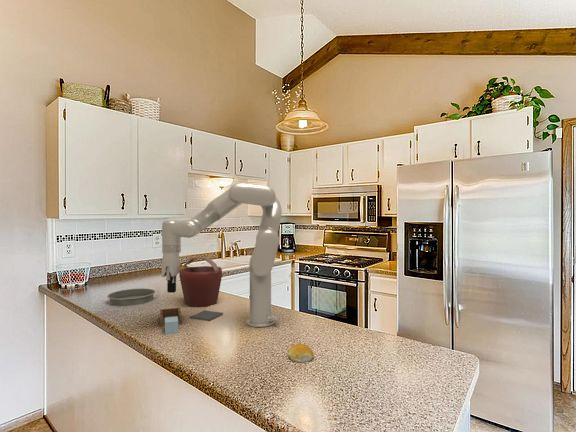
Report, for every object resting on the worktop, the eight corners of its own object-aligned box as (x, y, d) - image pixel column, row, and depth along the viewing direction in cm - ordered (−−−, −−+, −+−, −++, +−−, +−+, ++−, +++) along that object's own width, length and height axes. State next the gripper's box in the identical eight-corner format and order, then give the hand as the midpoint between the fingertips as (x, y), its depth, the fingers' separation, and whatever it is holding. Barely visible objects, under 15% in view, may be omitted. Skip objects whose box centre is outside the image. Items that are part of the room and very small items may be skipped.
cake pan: (108, 298, 191) (108, 290, 191) (154, 294, 201) (154, 286, 201) (105, 309, 169) (105, 300, 169) (156, 303, 179) (156, 295, 179)
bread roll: (308, 350, 116) (308, 339, 116) (316, 361, 107) (316, 349, 107) (285, 353, 114) (285, 341, 114) (291, 364, 105) (291, 352, 105)
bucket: (173, 302, 182) (173, 257, 182) (209, 295, 196) (209, 253, 196) (193, 311, 163) (193, 261, 163) (231, 303, 178) (231, 257, 178)
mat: (223, 314, 159) (223, 312, 159) (209, 321, 148) (209, 319, 148) (204, 311, 163) (204, 310, 163) (189, 318, 153) (189, 316, 153)
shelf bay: (182, 324, 144) (182, 316, 144) (160, 327, 141) (160, 318, 141) (179, 314, 158) (179, 307, 158) (159, 317, 154) (159, 309, 154)
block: (178, 333, 133) (178, 321, 133) (165, 335, 131) (165, 322, 131) (177, 328, 140) (177, 316, 140) (164, 329, 138) (164, 317, 138)
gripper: (168, 247, 148) (168, 288, 148) (156, 251, 133) (156, 296, 133) (185, 247, 148) (185, 288, 148) (174, 251, 133) (175, 296, 133)
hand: (171, 292), depth 141 cm, fingers closed
